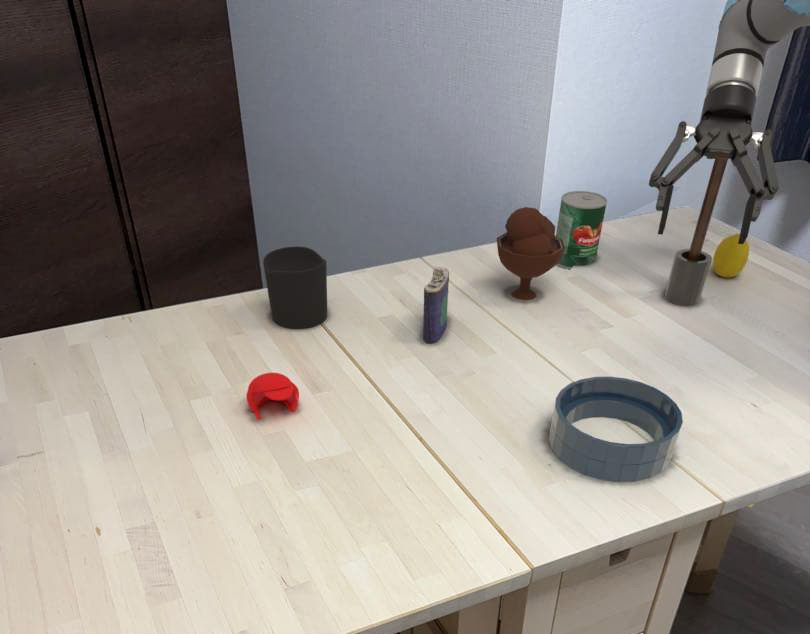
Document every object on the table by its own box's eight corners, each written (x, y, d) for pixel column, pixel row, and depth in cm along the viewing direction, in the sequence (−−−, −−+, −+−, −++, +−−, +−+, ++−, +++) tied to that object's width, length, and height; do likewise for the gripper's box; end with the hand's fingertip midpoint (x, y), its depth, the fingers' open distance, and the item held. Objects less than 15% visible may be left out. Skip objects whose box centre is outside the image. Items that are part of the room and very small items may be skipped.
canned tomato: (584, 273, 133) (596, 210, 125) (544, 263, 136) (553, 200, 128) (602, 258, 137) (614, 196, 130) (562, 248, 140) (572, 187, 133)
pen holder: (336, 310, 121) (332, 249, 114) (321, 337, 114) (316, 275, 108) (280, 304, 122) (273, 244, 115) (262, 332, 116) (254, 269, 109)
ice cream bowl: (549, 318, 120) (563, 224, 110) (482, 306, 123) (490, 213, 112) (562, 291, 127) (577, 200, 117) (499, 280, 130) (508, 191, 120)
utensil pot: (700, 299, 126) (714, 253, 120) (694, 313, 122) (708, 265, 116) (667, 292, 127) (679, 246, 122) (660, 306, 124) (672, 259, 118)
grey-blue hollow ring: (680, 434, 97) (693, 394, 93) (654, 501, 87) (667, 460, 83) (568, 404, 102) (576, 365, 98) (532, 465, 92) (538, 424, 88)
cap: (238, 411, 100) (231, 372, 96) (273, 394, 103) (268, 355, 99) (275, 436, 96) (270, 396, 92) (310, 417, 99) (307, 378, 95)
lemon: (739, 288, 129) (755, 242, 124) (706, 283, 130) (720, 237, 125) (740, 275, 133) (755, 230, 127) (708, 270, 134) (721, 225, 129)
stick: (688, 297, 124) (729, 155, 109) (686, 301, 123) (727, 159, 108) (677, 295, 125) (717, 153, 110) (675, 299, 124) (714, 157, 109)
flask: (432, 319, 119) (435, 253, 112) (450, 322, 119) (455, 256, 111) (420, 347, 113) (422, 279, 105) (439, 350, 112) (442, 282, 105)
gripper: (804, 119, 116) (775, 255, 116) (648, 105, 120) (620, 236, 120) (821, 88, 109) (791, 233, 108) (655, 75, 113) (625, 214, 113)
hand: (701, 235), depth 114 cm, fingers open, 11 cm apart
